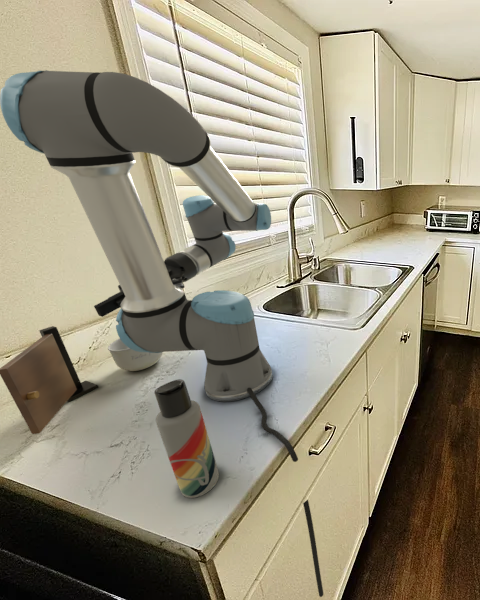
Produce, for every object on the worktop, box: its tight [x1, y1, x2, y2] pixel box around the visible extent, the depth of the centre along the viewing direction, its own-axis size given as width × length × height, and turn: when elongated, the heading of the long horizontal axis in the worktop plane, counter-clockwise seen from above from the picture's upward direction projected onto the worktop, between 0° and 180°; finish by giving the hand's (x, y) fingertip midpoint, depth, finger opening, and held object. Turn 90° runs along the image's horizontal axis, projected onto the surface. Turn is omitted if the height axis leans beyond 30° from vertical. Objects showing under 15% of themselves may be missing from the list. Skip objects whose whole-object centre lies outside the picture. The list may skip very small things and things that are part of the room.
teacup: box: [107, 338, 163, 372], centre depth 90 cm, size 14×11×8 cm
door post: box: [38, 325, 99, 403], centre depth 76 cm, size 5×6×17 cm
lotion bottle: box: [154, 379, 220, 499], centre depth 51 cm, size 6×6×20 cm
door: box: [0, 334, 77, 435], centre depth 68 cm, size 15×2×15 cm, turn 22°
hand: (98, 311), depth 72 cm, fingers closed
